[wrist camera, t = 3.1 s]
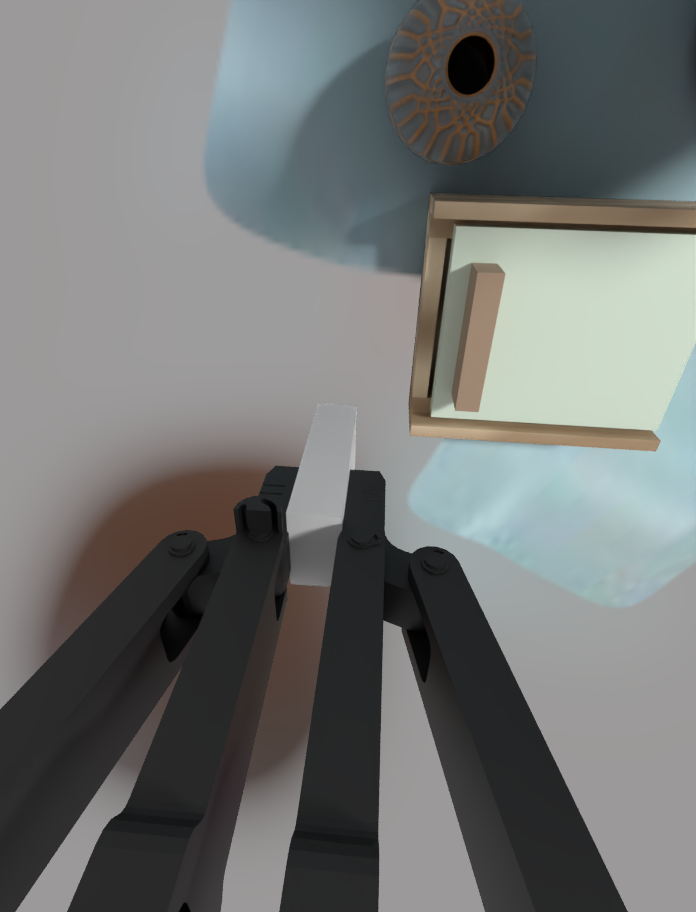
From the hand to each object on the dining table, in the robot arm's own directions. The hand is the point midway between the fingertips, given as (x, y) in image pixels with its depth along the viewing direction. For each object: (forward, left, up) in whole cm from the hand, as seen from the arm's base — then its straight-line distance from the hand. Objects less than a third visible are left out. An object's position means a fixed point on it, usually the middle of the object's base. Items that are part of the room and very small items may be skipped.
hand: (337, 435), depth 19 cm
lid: (0, +12, -14) cm, 18 cm away
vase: (-12, +4, -17) cm, 21 cm away
